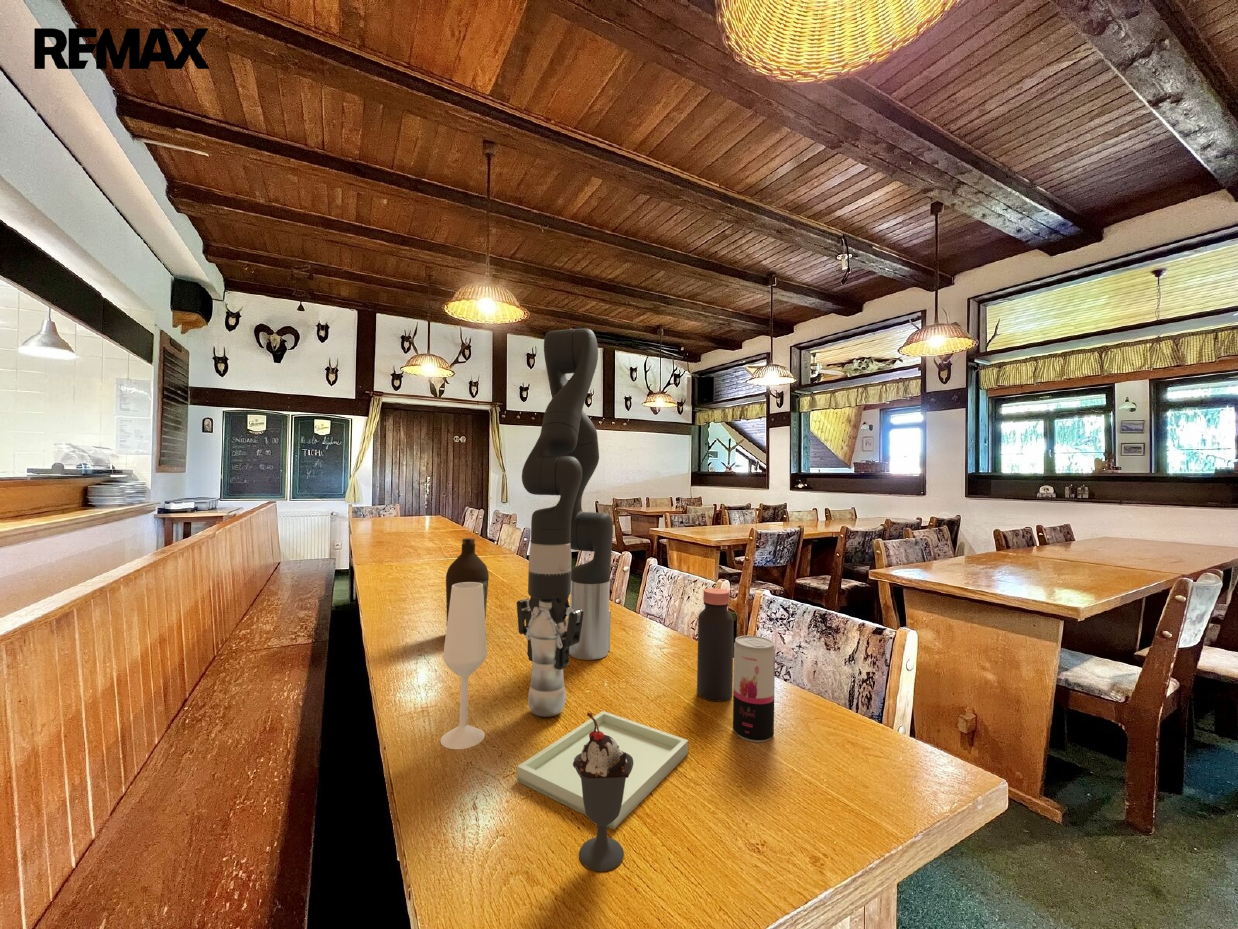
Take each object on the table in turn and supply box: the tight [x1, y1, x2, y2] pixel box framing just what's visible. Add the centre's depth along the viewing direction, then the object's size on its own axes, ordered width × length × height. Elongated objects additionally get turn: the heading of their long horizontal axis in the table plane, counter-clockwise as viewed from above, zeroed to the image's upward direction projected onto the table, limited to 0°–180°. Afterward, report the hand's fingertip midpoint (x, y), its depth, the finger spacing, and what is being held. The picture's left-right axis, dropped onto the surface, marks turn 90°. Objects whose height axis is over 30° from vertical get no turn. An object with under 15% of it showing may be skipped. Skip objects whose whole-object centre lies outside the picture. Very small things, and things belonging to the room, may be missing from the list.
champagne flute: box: [440, 582, 488, 750], centre depth 79 cm, size 7×7×24 cm
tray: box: [516, 710, 689, 830], centre depth 71 cm, size 20×16×2 cm
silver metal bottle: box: [527, 599, 567, 718], centre depth 87 cm, size 6×7×20 cm
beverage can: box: [732, 635, 776, 743], centre depth 82 cm, size 7×6×15 cm
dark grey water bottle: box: [696, 587, 735, 702], centre depth 97 cm, size 7×7×20 cm
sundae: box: [573, 712, 634, 872], centre depth 55 cm, size 7×7×15 cm
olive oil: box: [445, 537, 489, 622], centre depth 128 cm, size 11×11×25 cm
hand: (547, 663), depth 87 cm, fingers closed on silver metal bottle, 6 cm apart
